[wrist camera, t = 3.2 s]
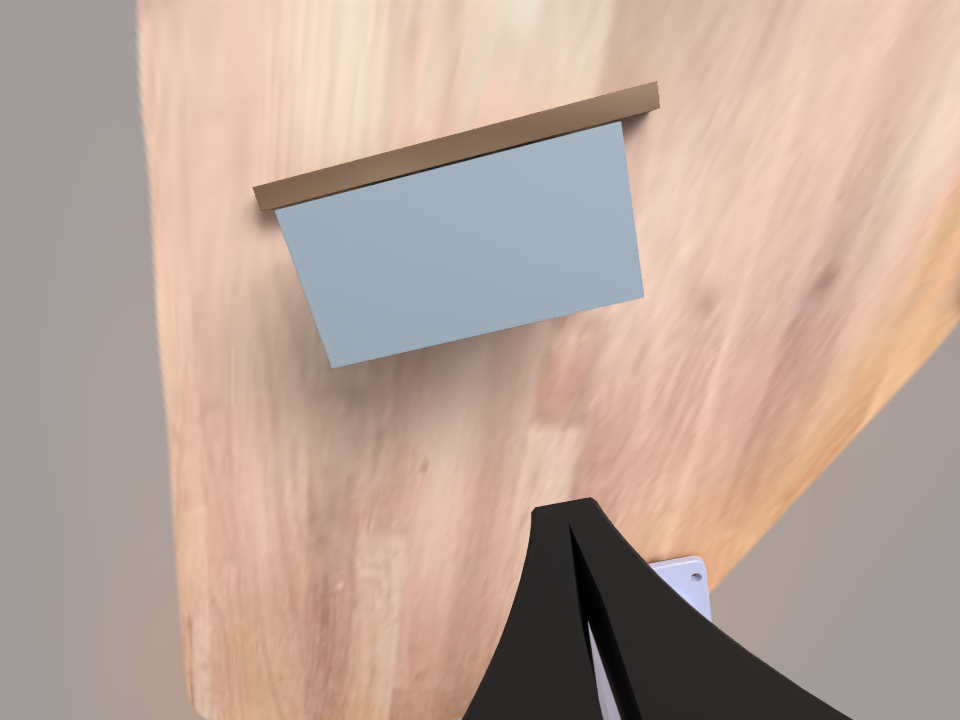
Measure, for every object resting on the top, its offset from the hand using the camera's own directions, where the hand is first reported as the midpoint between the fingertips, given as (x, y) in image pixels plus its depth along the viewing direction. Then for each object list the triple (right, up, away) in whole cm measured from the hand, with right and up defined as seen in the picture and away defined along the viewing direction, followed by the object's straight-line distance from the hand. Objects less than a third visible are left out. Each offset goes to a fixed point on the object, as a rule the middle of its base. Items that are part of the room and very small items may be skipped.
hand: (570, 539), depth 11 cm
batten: (-3, +11, +7) cm, 14 cm away
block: (-2, +9, +8) cm, 12 cm away
